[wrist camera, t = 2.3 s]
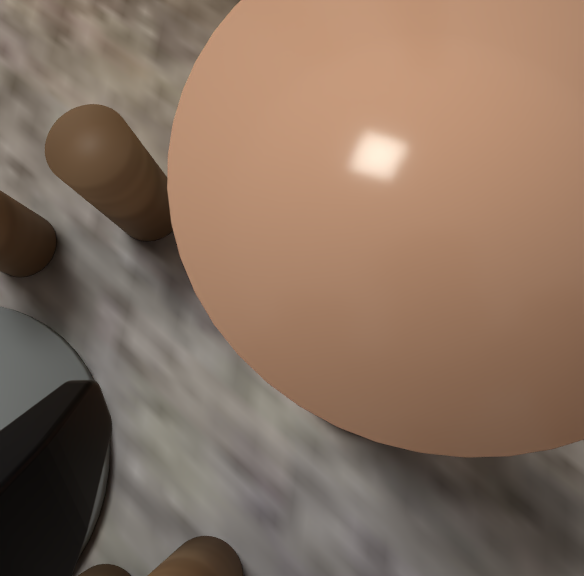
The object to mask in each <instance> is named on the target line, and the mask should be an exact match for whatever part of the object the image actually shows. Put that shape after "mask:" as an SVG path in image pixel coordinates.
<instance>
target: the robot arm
mask: <svg viewBox="0 0 584 576" xmlns="http://www.w3.org/2000/svg"><path fill="white" fill-rule="evenodd" d="M111 432H112V421H111V416H110V413H109V411H108V408H107V405H106V402H105V400H104V397H103V394H102V391H101V388H100V386H99V384H98V383H97V382H96V381H93V380H70V381H67V382H65V383H64V384H62V385H61V386H59V387H58V388H57V389H55V390H54V391H53V392H51V393H50V394H49V395H47V396H46V397H45V398H43V399H42V400H41V401H39V402H38V403H36V404H35V405H34V406H32V407H31V408H30V409H28V410H27V411H26V412H24V413H23V414H22V415H20V416H19V417H18V418H16V419H15V420H14V421H12V422H11V423H10V424H8V425H7V426H6V427H4V428H3V429H2V430H0V576H72V574H73V571H74V569H75V566H76V563H77V560H78V557H79V555H80V552H81V549H82V546H83V543H84V540H85V537H86V534H87V531H88V527H89V524H90V520H91V516H92V512H93V508H94V504H95V500H96V496H97V491H98V487H99V483H100V479H101V475H102V471H103V466H104V462H105V458H106V454H107V450H108V446H109V441H110V437H111Z"/></svg>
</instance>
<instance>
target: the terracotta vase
mask: <svg viewBox="0 0 584 576" xmlns="http://www.w3.org/2000/svg"><path fill="white" fill-rule="evenodd" d="M167 191H168V199H169V207H170V216H171V224H172V228H173V231H174V235H175V239H176V243H177V247H178V250H179V254H180V258H181V260H182V263H183V265H184V267H185V270H186V272H187V275H188V277H189V279H190V282H191V284H192V287H193V289H194V291H195V293H196V295H197V297H198V298H199V300H200V302H201V303H202V305H203V307H204V308H205V310H206V312H207V313H208V315H209V317H210V318H211V320H212V322H213V324H214V325H215V326H216V327H217V329H218V330H219V331H220V332H221V334H222V335H223V336H224V338H225V339H226V340H227V341H228V343H229V344H230V345H231V346H232V348H233V349H234V350H235V351H236V353H237V354H238V355H239V356H240V357H241V358H242V359H243V360H244V361H245V362H246V363H247V364H248V365H249V366H250V367H251V368H253V369H254V370H255V371H256V372H257V373H258V374H259V375H260V376H261V377H262V378H263V379H264V380H265V381H266V382H267V383H269V384H270V385H271V386H273V387H274V388H275V389H277V390H278V391H279V392H281V393H282V394H284V395H285V396H286V397H288V398H289V399H290V400H292V401H293V402H295V403H296V404H297V405H299V406H300V407H302V408H304V409H305V410H307V411H309V412H311V413H313V414H315V415H316V416H318V417H320V418H322V419H324V420H326V421H327V422H329V423H331V424H333V425H335V426H337V427H339V428H341V429H344V430H347V431H349V432H352V433H354V434H357V435H360V436H362V437H365V438H367V439H370V440H373V441H375V442H378V443H382V444H386V445H390V446H394V447H398V448H403V449H407V450H411V451H415V452H419V453H427V454H437V455H446V456H455V457H499V456H513V455H520V454H526V453H532V452H538V451H544V450H550V449H555V448H558V447H561V446H564V445H567V444H571V443H574V442H577V441H580V440H584V0H241V1H240V2H239V3H238V4H237V5H236V6H235V7H234V8H233V9H232V10H231V11H230V13H229V14H228V15H227V16H226V18H225V19H224V20H223V21H222V23H221V24H220V25H219V26H218V27H217V29H216V30H215V31H214V32H213V34H212V36H211V37H210V39H209V41H208V42H207V44H206V45H205V47H204V49H203V50H202V52H201V53H200V55H199V57H198V58H197V60H196V62H195V64H194V66H193V69H192V71H191V73H190V75H189V78H188V80H187V82H186V84H185V86H184V89H183V91H182V94H181V98H180V101H179V104H178V108H177V111H176V114H175V118H174V121H173V126H172V133H171V139H170V145H169V152H168V180H167Z"/></svg>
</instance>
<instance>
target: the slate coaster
mask: <svg viewBox="0 0 584 576" xmlns="http://www.w3.org/2000/svg"><path fill="white" fill-rule="evenodd" d="M70 380H93V378H92V376H91V374H90V372H89V370H88V368H87V367H86V365H85V364H84V362H83V361H82V360H81V358H80V357H79V355H78V354H77V352H76V351H75V350H74V349H73V348H72V347H71V346H70V345H69V344H68V343H67V342H66V341H65V340H64V339H63V338H62V337H61V336H60V335H59V334H57V333H56V332H55V331H53V330H52V329H51V328H50V327H48V326H47V325H45V324H43V323H41V322H40V321H38V320H36V319H34V318H33V317H30V316H28V315H25V314H23V313H20V312H18V311H15V310H12V309H8V308H4V307H0V430H2V429H3V428H4V427H6V426H7V425H8V424H10V423H11V422H12V421H14V420H15V419H16V418H18V417H19V416H20V415H22V414H23V413H24V412H26V411H27V410H28V409H30V408H31V407H32V406H34V405H35V404H36V403H38V402H39V401H41V400H42V399H43V398H45V397H46V396H47V395H49V394H50V393H51V392H53V391H54V390H55V389H57V388H58V387H59V386H61V385H62V384H64V383H65V382H67V381H70ZM93 381H94V380H93ZM109 455H110V445H109V446H108V450H107V454H106V458H105V462H104V466H103V471H102V475H101V479H100V483H99V487H98V491H97V496H96V500H95V504H94V508H93V512H92V516H91V520H90V524H89V527H88V531H87V534H86V537H85V540H84V543H83V546H82V549H81V552H80V555H81V553H82V552H83V550H84V548H85V546H86V544H87V543H88V541H89V539H90V537H91V534H92V532H93V529H94V527H95V525H96V522H97V520H98V517H99V514H100V510H101V507H102V503H103V500H104V496H105V492H106V486H107V479H108V473H109ZM80 555H79V557H80ZM79 557H78V559H79ZM77 561H78V560H77Z"/></svg>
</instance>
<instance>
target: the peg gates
mask: <svg viewBox="0 0 584 576" xmlns="http://www.w3.org/2000/svg"><path fill="white" fill-rule="evenodd" d="M45 156H46V160H47V163H48V165H49V167H50V169H51V170H52V172H53V173H54V174H55V175H56V176H57V177H59V178H60V179H61V180H62V181H63V182H65V183H66V184H67V185H68V186H70V187H71V188H72V189H73V190H74V191H76V192H77V193H78V194H79V195H81V196H82V197H83V198H84V199H85V200H87V201H88V202H89V203H90V204H92V205H93V206H94V207H95V208H96V209H98V210H99V211H100V212H101V213H103V214H104V215H105V216H106V217H108V218H109V219H110V220H111V221H112V222H114V223H115V224H116V225H117V226H119V227H120V228H121V229H122V230H123V231H125V232H126V233H127V234H128V235H130V236H131V237H133V238H135V239H137V240H141V241H154V240H158V239H161V238H163V237H165V236H166V235H168V234H169V233H170V232H172V231H173V228H172V224H171V216H170V207H169V199H168V191H167V180H168V178H167V177H166V175H165V174H164V173H163V171H162V170H161V169H160V167H159V166H158V165H157V163H156V162H155V161H154V159H153V158H152V157H151V155H150V154H149V153H148V151H147V150H146V149H145V147H144V146H143V145H142V143H141V142H140V141H139V139H138V138H137V137H136V135H135V134H134V132H133V131H132V130H131V128H130V127H129V126H128V124H127V123H126V122H125V120H124V119H123V118H122V117H121V116H120V115H119V114H118V113H117V112H116V111H114V110H113V109H111V108H109V107H106V106H103V105H97V104H89V105H83V106H79V107H76V108H74V109H72V110H70V111H68V112H66V113H65V114H64V115H62V116H61V117H60V118H59V119H58V120H57V121H56V122H55V123H54V125H53V126H52V128H51V129H50V131H49V133H48V136H47V139H46V143H45ZM55 248H56V235H55V231H54V229H53V227H52V226H51V224H50V223H49V222H48V221H47V220H45V219H44V218H42V217H41V216H39V215H38V214H36V213H35V212H33V211H32V210H30V209H28V208H27V207H25V206H24V205H22V204H21V203H19V202H17V201H16V200H14V199H13V198H11V197H10V196H8V195H6V194H5V193H3V192H2V191H0V271H1V272H4V273H6V274H9V275H11V276H15V277H26V276H30V275H33V274H35V273H37V272H39V271H40V270H42V269H43V268H44V267H45V266H46V265H47V264H48V263H49V261H50V260H51V258H52V256H53V254H54V252H55ZM78 576H131V575H130V574H129V573H128V572H126V571H125V570H124V569H122V568H120V567H118V566H115V565H111V564H100V565H96V566H93V567H91V568H89V569H87V570H86V571H84V572H83V573H81V574H80V575H78ZM148 576H243V571H242V566H241V563H240V560H239V558H238V556H237V554H236V553H235V551H234V550H233V549H232V548H231V546H230V545H228V544H227V543H226V542H224V541H223V540H221V539H218V538H216V537H212V536H200V537H196V538H193V539H191V540H188V541H187V542H185V543H184V544H183V545H182V546H180V547H179V548H178V549H177V550H176V551H175V552H174V553H173V554H171V555H170V556H169V557H168V558H167V559H166V560H165V561H164V562H162V563H161V564H160V565H159V566H158V567H157V568H156V569H154V570H153V571H152V572H151V573H150V574H149V575H148Z"/></svg>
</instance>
